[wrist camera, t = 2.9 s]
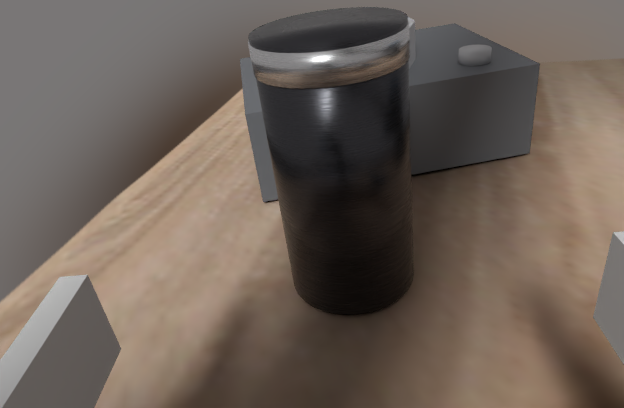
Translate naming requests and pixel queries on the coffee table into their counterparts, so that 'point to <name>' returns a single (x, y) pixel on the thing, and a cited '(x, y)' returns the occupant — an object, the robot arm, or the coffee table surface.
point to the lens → (341, 151)
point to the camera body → (441, 103)
